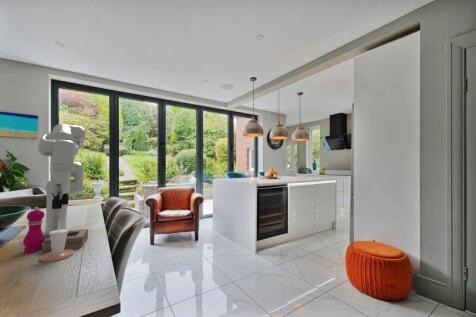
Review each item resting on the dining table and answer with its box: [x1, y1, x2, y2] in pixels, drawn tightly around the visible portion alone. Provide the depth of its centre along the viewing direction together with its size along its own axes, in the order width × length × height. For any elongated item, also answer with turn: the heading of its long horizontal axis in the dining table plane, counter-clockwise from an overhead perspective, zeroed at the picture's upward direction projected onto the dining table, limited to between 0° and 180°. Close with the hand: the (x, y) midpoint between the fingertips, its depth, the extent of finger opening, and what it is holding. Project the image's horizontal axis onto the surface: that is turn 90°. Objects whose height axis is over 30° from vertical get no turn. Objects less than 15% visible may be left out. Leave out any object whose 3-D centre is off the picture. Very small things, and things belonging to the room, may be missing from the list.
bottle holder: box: [42, 228, 89, 254], centre depth 104 cm, size 16×14×5 cm
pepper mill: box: [22, 206, 46, 254], centre depth 97 cm, size 7×7×20 cm
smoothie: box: [48, 221, 68, 256], centre depth 91 cm, size 6×6×14 cm
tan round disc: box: [39, 249, 75, 263], centre depth 90 cm, size 11×11×1 cm
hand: (60, 206), depth 92 cm, fingers open, 9 cm apart
